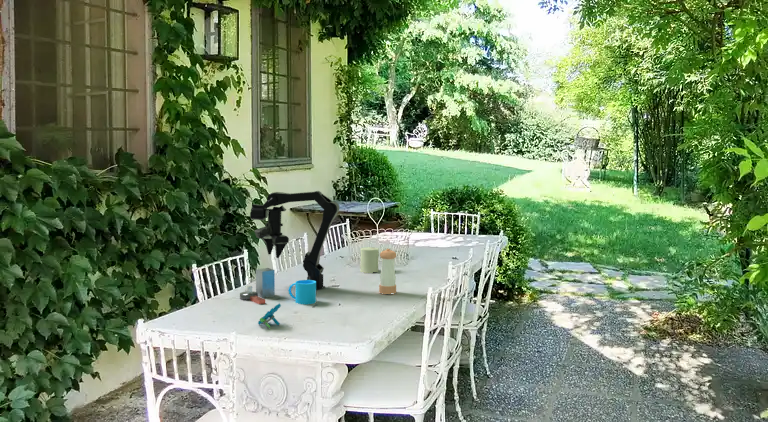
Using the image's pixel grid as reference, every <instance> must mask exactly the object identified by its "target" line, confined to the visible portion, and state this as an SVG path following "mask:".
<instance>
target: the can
mask: <svg viewBox="0 0 768 422" xmlns="http://www.w3.org/2000/svg"><path fill="white" fill-rule="evenodd" d="M378 271H379V248H378V247H372V246H370V247H368V246H367V247H361V248H360V271H359V272H360V273H362V272H364V274H374V273H373V272H377V273H379V272H378Z"/></svg>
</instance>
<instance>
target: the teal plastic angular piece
mask: <svg viewBox="0 0 768 422" xmlns="http://www.w3.org/2000/svg"><path fill="white" fill-rule="evenodd" d="M281 306H282V305H281V303H278V304H276V305H275V306H274V307H272V308H271V309H270V310H269V311H266V313H265V314H264V316H262V317H261V318H259V320H258V322H257V324H258V326H260V325H265V326H266V327H267V328H268V327H269V328H270V327H271V325H270V324H269V323H268V322H270V321H273V322H274V324H275V325H276V326H277V325H278V326H279V325H280V324H281V323H280V322H279V321H278V320H277V319H276V317H275V315H274V314H275V313H276V312H277V311H278V310H279V309H280V308H281ZM269 328H268V329H269ZM270 329H271V328H270Z"/></svg>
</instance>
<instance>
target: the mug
mask: <svg viewBox="0 0 768 422" xmlns="http://www.w3.org/2000/svg"><path fill="white" fill-rule="evenodd" d="M294 286H295V296H294V295H293V293H292V289H293V287H294ZM288 294H289V297H291V298H292V299H294V301H295V304H297V303H298V304H297V305H312V304H313V305H314V304H316V303H317V290H316V281H313V280H307V279H300V280H296V281H295V282H294V283H291V284H290V285H289V287H288ZM315 302H316V303H315Z"/></svg>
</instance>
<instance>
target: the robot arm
mask: <svg viewBox="0 0 768 422" xmlns="http://www.w3.org/2000/svg"><path fill="white" fill-rule="evenodd" d="M307 201H308V202H309V201H311V202H312V201H315V202H316V203H317V204H318V205H319V206H320V208H322V209H323V211H322V221H321V224H320V226H319V229H318V232H317V234H316V237H315V239H314V242H313V245H312V248H311V250H310V251H307V252H306V253H305V254H304V258H303V260H302V267H303V270H304V271H306V273H307V277H306V280H313V281H316V291H318V290H321V289H326V286H325V285H324V273H323V272H324V269H325V267H324V266H323V265H321V264H320V260H321V252H322V249H323V247H324V244H325V240H326V239H327V235H328V233H329V231H330V227H331V225H332V223H333V222H334V220H335V218H336V217H337V215H338V213H339V211H340V208H341V207H340V205H339V203H338V202H336V201H332V200H331V199H330V198H329V197H327V196H326V195H325V194H324V193H322V191H320V190H316V191H315V190H314V191H307V192H306V191H305V192H294V193H292V192H291V193H289V192H280V191H274V192H272V193H270V194H269V195H268V196H267V199H266V201H265V203H263V204H257V203H253V204H251V209H250V212H249V216H250V219H251V220H253V221H254V220H255V221H265V220H266V219H267V222H266V223H265V226H262V227H260V228H257V229H255V230H254V235H255V237H256V238H258V239H259V240H262V241H263V242H264V243H265V247H266V251H267V255H271V254H272V252H273V250H274V249H275V258H276V259H279V258H280V257H281V255H282V252H283V250H284V249H285V247H286V246H287V244H289V243H290V242H289V241H290V239H289V237H288V236H287V235H285V234H283V232H282V227H283V225H284V223H282V212H286V211H287V209H286V208H285V207H284V204H287V203H294V202H295V203H296V202H307Z"/></svg>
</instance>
